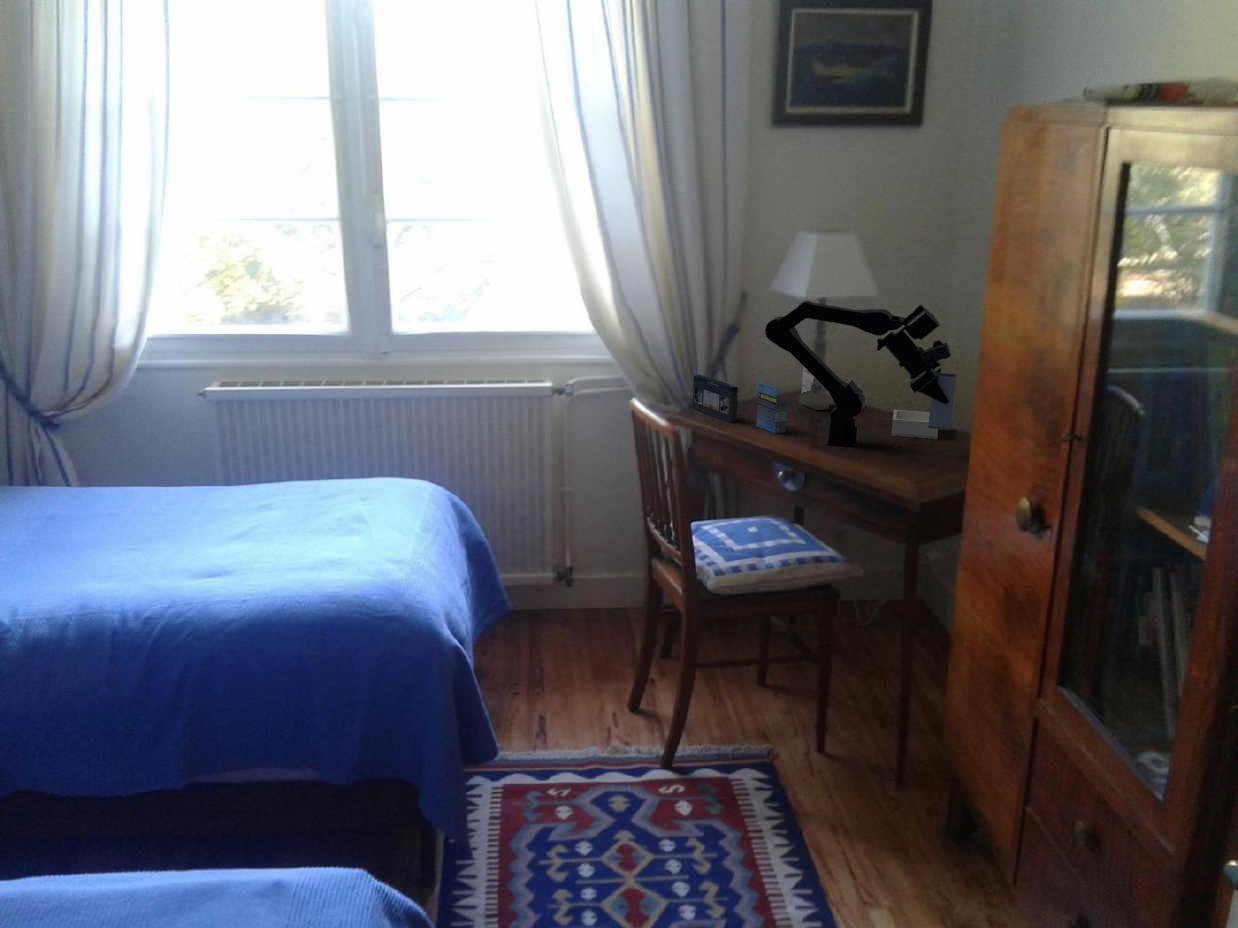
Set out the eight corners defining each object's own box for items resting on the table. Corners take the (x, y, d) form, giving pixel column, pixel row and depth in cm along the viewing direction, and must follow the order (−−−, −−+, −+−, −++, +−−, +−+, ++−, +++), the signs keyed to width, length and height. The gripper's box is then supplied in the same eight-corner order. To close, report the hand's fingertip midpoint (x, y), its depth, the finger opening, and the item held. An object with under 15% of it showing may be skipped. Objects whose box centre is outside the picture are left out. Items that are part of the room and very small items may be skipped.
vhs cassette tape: (691, 409, 305) (693, 375, 303) (700, 408, 307) (702, 374, 304) (727, 423, 290) (729, 387, 287) (737, 422, 291) (738, 386, 289)
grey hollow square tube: (927, 427, 261) (934, 375, 258) (929, 423, 266) (935, 372, 262) (949, 430, 260) (955, 377, 256) (950, 425, 264) (956, 374, 261)
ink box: (830, 410, 307) (833, 370, 304) (815, 411, 305) (818, 371, 302) (814, 404, 315) (817, 364, 311) (799, 405, 313) (802, 365, 310)
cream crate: (891, 435, 281) (892, 419, 279) (892, 425, 291) (893, 409, 290) (937, 439, 278) (938, 423, 277) (936, 428, 289) (938, 413, 287)
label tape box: (786, 432, 281) (789, 387, 278) (773, 434, 280) (776, 388, 276) (767, 425, 289) (770, 380, 286) (754, 426, 287) (757, 381, 284)
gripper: (929, 336, 249) (973, 387, 249) (935, 325, 266) (976, 373, 265) (892, 367, 254) (935, 416, 253) (900, 354, 271) (940, 400, 270)
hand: (948, 400), depth 260 cm, fingers closed on grey hollow square tube, 5 cm apart
